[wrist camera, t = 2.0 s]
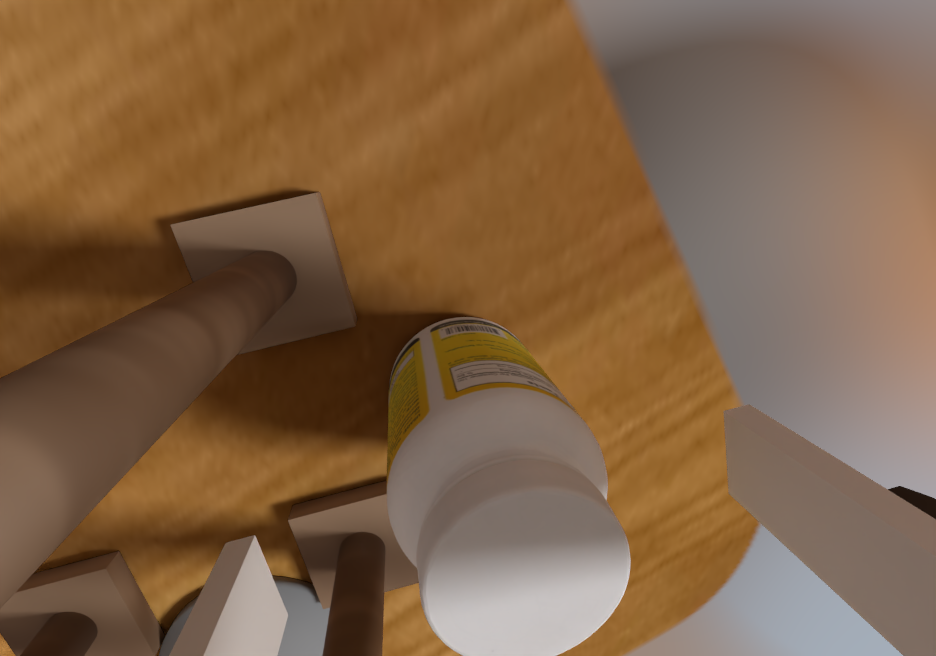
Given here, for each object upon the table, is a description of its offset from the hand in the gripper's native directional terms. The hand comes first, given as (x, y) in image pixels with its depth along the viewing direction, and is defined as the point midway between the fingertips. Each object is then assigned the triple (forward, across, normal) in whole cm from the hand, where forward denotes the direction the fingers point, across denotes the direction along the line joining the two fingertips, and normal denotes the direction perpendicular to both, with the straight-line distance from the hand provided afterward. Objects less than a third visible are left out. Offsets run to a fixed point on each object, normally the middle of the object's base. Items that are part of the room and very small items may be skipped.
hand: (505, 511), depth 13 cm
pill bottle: (+8, 0, +1) cm, 8 cm away
